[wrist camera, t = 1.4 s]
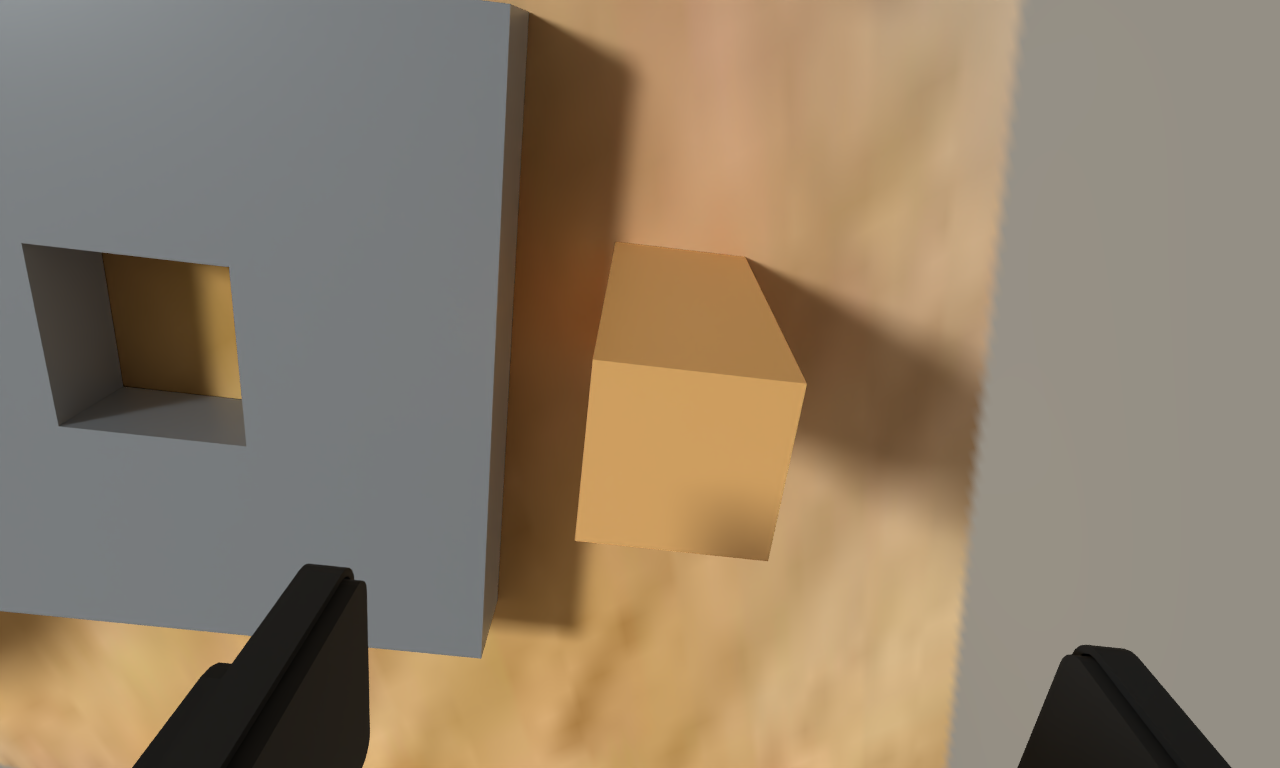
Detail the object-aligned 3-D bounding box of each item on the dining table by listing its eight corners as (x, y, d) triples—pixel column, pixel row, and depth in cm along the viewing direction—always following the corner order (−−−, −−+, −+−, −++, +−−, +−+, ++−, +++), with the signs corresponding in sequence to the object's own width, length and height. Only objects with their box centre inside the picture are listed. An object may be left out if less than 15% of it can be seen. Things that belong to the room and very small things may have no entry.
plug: (615, 241, 23) (592, 359, 14) (745, 256, 23) (806, 384, 14) (602, 362, 25) (574, 540, 16) (724, 376, 25) (767, 560, 16)
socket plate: (-229, -86, 20) (-369, -110, 17) (528, 11, 21) (510, 4, 18) (-49, 545, 28) (-126, 598, 25) (497, 600, 28) (481, 658, 26)
